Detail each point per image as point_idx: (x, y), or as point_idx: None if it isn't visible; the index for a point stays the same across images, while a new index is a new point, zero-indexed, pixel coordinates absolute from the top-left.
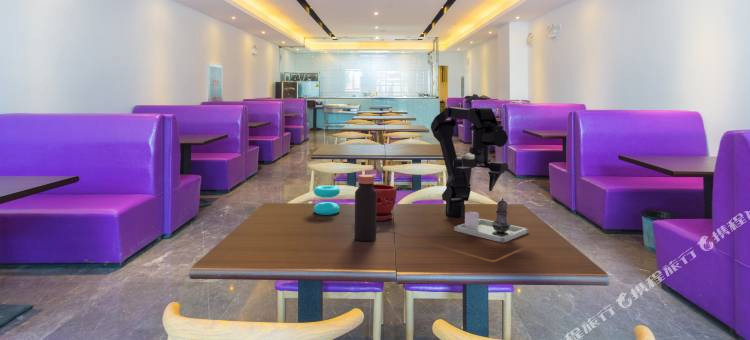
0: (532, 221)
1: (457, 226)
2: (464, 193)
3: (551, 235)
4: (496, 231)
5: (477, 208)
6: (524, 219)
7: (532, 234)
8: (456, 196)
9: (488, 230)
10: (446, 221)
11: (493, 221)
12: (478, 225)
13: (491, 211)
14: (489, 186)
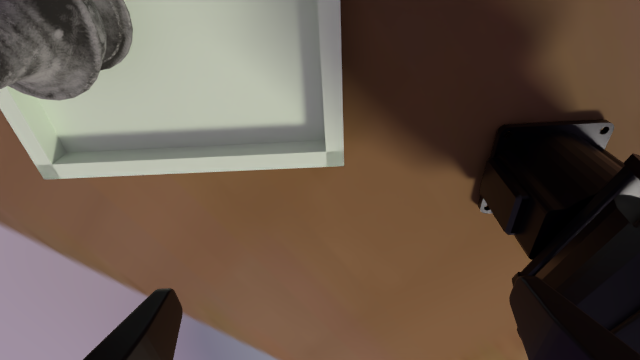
0: (229, 320)
1: None
2: (551, 281)
3: (23, 223)
4: (110, 25)
5: (497, 332)
6: (266, 323)
7: (62, 181)
8: (602, 211)
9: (186, 34)
10: (539, 35)
11: (252, 166)
12: (306, 88)
13: (426, 332)
14: (129, 341)
